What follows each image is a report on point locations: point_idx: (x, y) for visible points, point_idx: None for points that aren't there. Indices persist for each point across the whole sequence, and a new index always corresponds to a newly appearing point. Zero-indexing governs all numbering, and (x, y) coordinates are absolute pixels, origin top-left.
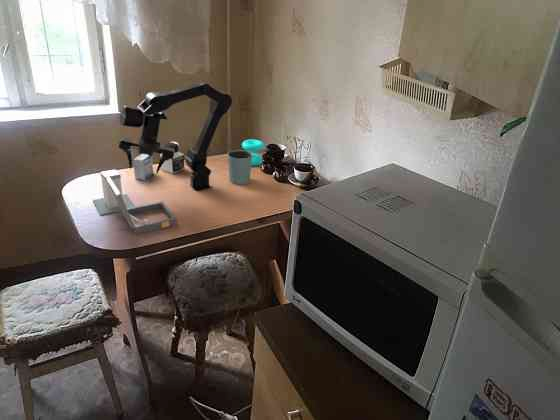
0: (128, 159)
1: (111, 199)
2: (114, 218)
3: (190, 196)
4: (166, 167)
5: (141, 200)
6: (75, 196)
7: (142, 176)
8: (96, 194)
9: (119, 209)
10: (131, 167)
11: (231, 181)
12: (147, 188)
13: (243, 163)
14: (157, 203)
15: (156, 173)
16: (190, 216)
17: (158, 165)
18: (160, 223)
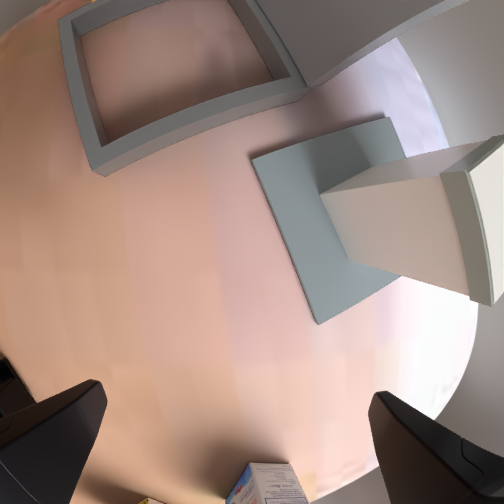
0: (466, 441)
1: (387, 166)
2: (329, 83)
3: (10, 308)
4: None
5: (232, 265)
6: None
7: (261, 472)
8: (422, 315)
9: (328, 147)
10: (376, 406)
11: None
12: (223, 401)
13: None
14: (120, 141)
15: (97, 381)
16: (10, 107)
17: (30, 427)
18: None
